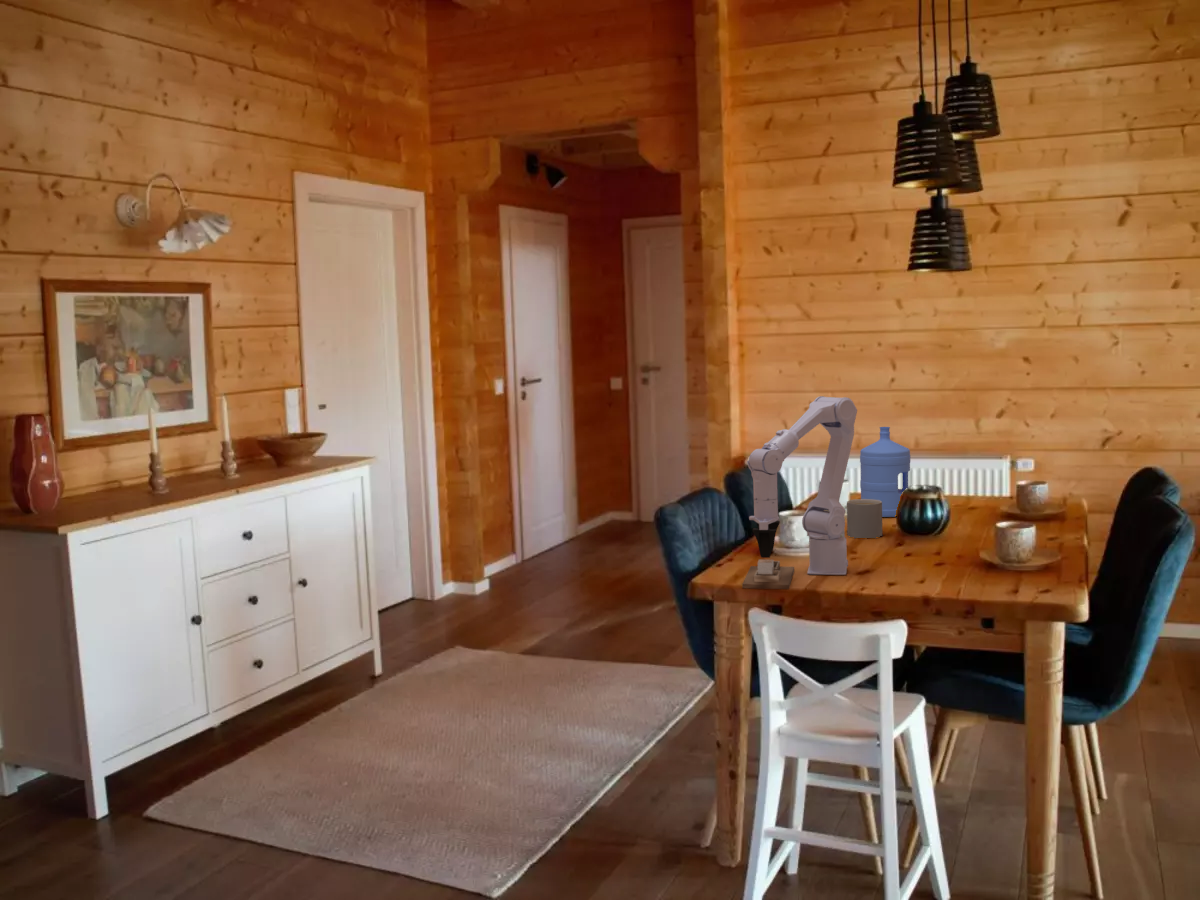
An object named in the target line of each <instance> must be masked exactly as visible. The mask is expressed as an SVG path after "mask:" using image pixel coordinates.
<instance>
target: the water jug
mask: <svg viewBox="0 0 1200 900" xmlns="http://www.w3.org/2000/svg"><path fill="white" fill-rule="evenodd" d="M890 429H891V427H890V426H879V439H878V440H876V441H875V442H873V443H871V444H868V445H867V446H865V447H862V449H860V453H859V454H860V455H859V463H860V480H859V481H860V482H859V483H860V485H859V487H860V499H873V500H880V501H882V517H895V515H896V510H897V507H898V504H899V501H900V496H901V494H902V492H903V491H904V490H905V489H906V488H908V489H909V472H910V470H911V450H910V448H909V447H905V446H904V445H903V444H902V445H901V444H899V443H898V442H895V441H893V440H892V439H891V431H890ZM900 474H902V487H901V488H899V476H900Z"/></svg>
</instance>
